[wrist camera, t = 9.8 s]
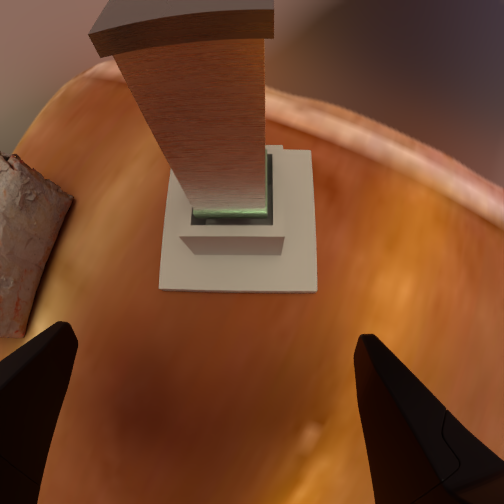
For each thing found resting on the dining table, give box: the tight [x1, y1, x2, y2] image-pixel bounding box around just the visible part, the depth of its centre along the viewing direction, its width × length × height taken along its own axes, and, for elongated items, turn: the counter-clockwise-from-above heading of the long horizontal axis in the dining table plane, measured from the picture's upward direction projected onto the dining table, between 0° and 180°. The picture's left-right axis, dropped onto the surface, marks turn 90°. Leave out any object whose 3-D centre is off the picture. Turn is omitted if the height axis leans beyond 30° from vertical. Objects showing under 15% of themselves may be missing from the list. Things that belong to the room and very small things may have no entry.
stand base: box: [159, 145, 317, 293], centre depth 19 cm, size 10×10×6 cm
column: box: [88, 0, 274, 219], centre depth 11 cm, size 4×4×12 cm
